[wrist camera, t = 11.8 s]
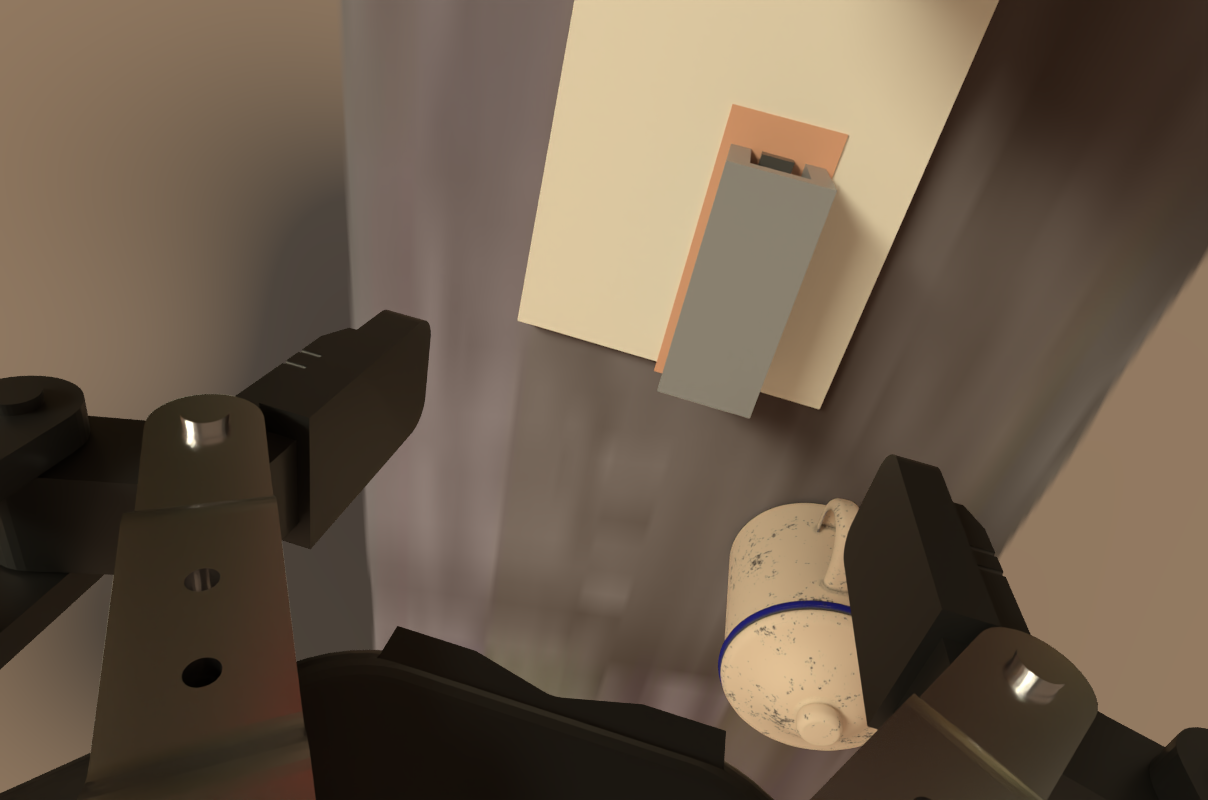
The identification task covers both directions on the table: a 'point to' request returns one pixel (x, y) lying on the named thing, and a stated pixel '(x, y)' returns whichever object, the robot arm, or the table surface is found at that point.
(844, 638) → the teacup with lid
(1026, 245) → the table surface
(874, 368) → the table surface
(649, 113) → the board
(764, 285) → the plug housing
